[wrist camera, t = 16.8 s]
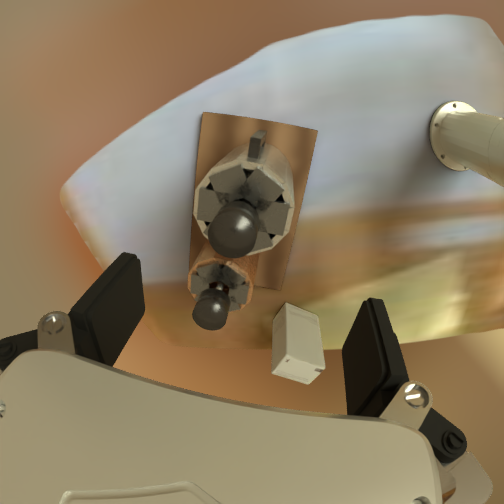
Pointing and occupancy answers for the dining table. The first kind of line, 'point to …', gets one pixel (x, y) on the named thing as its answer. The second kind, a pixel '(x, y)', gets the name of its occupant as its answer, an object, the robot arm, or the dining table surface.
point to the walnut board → (234, 135)
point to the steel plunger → (235, 227)
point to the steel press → (250, 189)
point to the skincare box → (297, 345)
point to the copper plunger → (212, 308)
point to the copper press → (224, 275)
